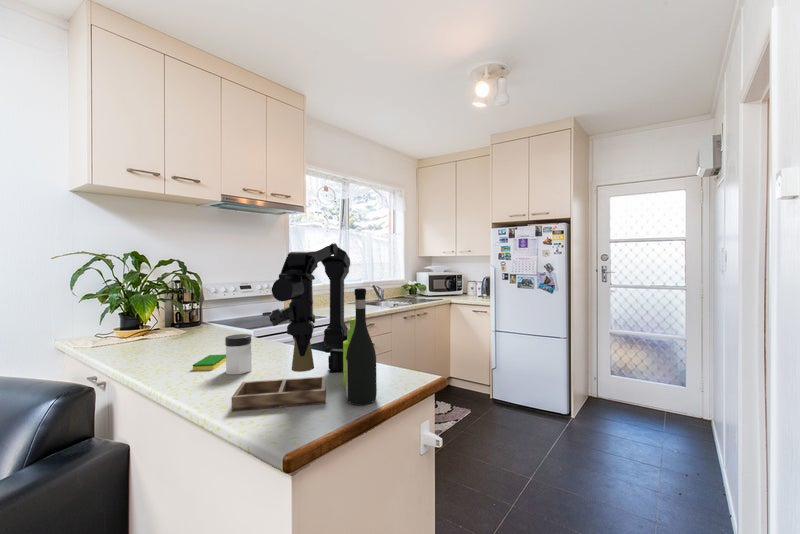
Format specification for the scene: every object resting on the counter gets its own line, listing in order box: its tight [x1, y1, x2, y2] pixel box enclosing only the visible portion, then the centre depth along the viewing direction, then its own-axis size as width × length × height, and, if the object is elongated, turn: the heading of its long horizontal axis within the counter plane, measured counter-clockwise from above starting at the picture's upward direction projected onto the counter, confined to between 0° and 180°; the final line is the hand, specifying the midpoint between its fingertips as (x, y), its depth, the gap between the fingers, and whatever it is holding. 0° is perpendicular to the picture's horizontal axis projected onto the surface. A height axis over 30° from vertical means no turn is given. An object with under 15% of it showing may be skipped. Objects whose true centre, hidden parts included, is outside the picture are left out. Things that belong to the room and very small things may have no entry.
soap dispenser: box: [342, 317, 356, 387], centre depth 111 cm, size 6×7×20 cm
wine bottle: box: [345, 287, 378, 406], centre depth 98 cm, size 8×8×30 cm
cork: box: [291, 335, 315, 373], centre depth 101 cm, size 6×6×11 cm
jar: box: [224, 333, 253, 375], centre depth 126 cm, size 9×8×12 cm
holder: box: [231, 375, 327, 412], centre depth 100 cm, size 23×12×4 cm, turn 101°
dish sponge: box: [192, 353, 226, 371], centre depth 134 cm, size 7×14×2 cm, turn 5°
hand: (302, 353), depth 101 cm, fingers closed on cork, 4 cm apart
